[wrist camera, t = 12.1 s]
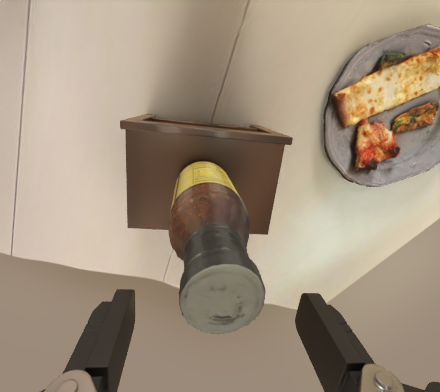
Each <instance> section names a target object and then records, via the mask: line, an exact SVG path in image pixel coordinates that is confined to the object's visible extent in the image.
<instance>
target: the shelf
mask: <svg viewBox="0 0 440 392" xmlns="http://www.w3.org/2000/svg"><path fill="white" fill-rule="evenodd" d="M120 128H121V129H126V172H127V217H128V228H141V229H162V230H169V225H170V212H171V206H172V201H173V195H174V190H175V185H176V181H177V179H178V177H179V174H180V173H181V172H182V171H183V170H184V169H185V168H186V167H187V166H188V165H190V164H192V163H193V162H196V161H206V162H211V163H214V164H216V165H218V166H219V167H221V168H222V169H223V170H224V171H225V172H226V174H227V175H228V177H229V179H230V181H231V182H232V184H233V186H234V188H235V189H236V191H237V193H238V194H239V196H240V198H241V199H242V201H243V202H244V204H245V206H246V208H247V211H248V214H249V217H250V234H268V230H269V224H270V219H271V214H272V209H273V204H274V198H275V193H276V188H277V183H278V177H279V172H280V167H281V162H282V157H283V151H284V146H285V144H286V145H291V144H292V139H293V138H292V137H289V136H286V135H284V134H281V133H278V132H275V131H273V130H270V129H267V128H264V127H261V126H258V125H251V126H250V128H246V127H237V126H227V125H217V124H207V123H198V122H188V121H178V120H168V119H158V118H157V115H152V114H145V115H141V116H137V117H133V118H129V119H126V120H122V121H120Z"/></svg>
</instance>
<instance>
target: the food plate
mask: <svg viewBox="0 0 440 392" xmlns="http://www.w3.org/2000/svg"><path fill="white" fill-rule="evenodd" d="M368 45H369V44H368ZM368 45H367V46H365V47H364V48H363V49H361V50H359V51H358V52H357V53H356V54H355V55H354V56H353V57H352V58H351V59H350V60H349V62H348V63H347V64H346V66H345V67H344V69H343V71H342V72H341V74H340V76H339V77H338V79H337V81H336V83H335V84H334V85H333V87H332V89H331V90H330V92H329V97H328V102H327V105H326V107H325V111H324V125H323V126H324V129H323V130H324V144H325V150H326V153H327V157H328V159H329V160H330V162H331V163H332V165H333V166H334V167H335V168H336V169H337V170H338V171H339V172H340V173H341V175H342V176H343V178H345V179H346V180H348V181H350V182H355V183H357V184H360V185H366V186H369V187H380V186H383V185H387V184H390V183H393V182H396V181H399V180H403V179H406V178H407V177H411V176H415V175H418V174H420V173H421V172H424V171H425V172H426V171H429V170H430V169H431V168H433V167H434V166H435V165H437V164H438V163H439V162H440V27H437V26H433V25H425V26H423V25H422V27H420V26H419V27H416V28H413V29H411V30H409V31H405V32H402V33H399V34H396V35H394V36H391V37H388V38H385V39H382V40H380V41H377V42H374V43H371V45H370V46H368Z"/></svg>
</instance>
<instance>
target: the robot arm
mask: <svg viewBox="0 0 440 392" xmlns="http://www.w3.org/2000/svg"><path fill="white" fill-rule="evenodd" d="M134 323H135V291H134V290H123V289H117V290H116V292H115V295H114V297H113V300H112V302H102V303H101V304H100V305H99V306H98V307H97V308H96V309H95V310H94V311H93V312H92V314H91V316H90V318H89V321H88V324H87V325H86V327H85V329H84V332H83V333H82V335H81V337H80V339H79V341H78V343H77V345H76V348H75V350H74V352H73V354H72V356H71V358H70V360H69V362H68V364H67V366H66V368H65V370H64V372H63V373H62V375H60V376H58V377H57V378H56V379H54V380H53V381H52V382H51V383H50V384H49V385H48V387H47V388H46V389H45V390H43V391H41V392H117V389H118V386H119V382H120V378H121V374H122V371H123V367H124V363H125V359H126V356H127V352H128V348H129V344H130V341H131V337H132V333H133V329H134ZM295 323H296V328H297V331H298V334H299V336H300V338H301V340H302V343H303V345H304V347H305V349H306V351H307V354H308V356H309V358H310V360H311V362H312V365H313V367H314V369H315V371H316V374H317V376H318V378H319V380H320V383H321V385H322V387H323V389H324V391H325V392H440V383H439V382H431V383H429V384H428V385H427V387H426V389H425V390H422V389H418V388H415V387H412V386H409V385H405V384H402V383H401V382H400V381H399V380H398V379H397V377H396V376H394V374H392V373H391V372H390V371H388V370H387V369H386V368H384V367H382V366H379V365H377V364H375V363H374V361H373V360H372V358H371V357H370V356H369V354H368V353H367V351H366V350H365V348H364V347H363V345H362V344H361V343H360V341H359V340H358V338H357V337H356V335H355V334H354V333H353V332H352V330H351V328H350V327H349V326H348V325H347V322H346V321H345V319H344V318H343V317H342V315H341V314H340V313H339V312H338V311H337V310H336V309H334V308H333V307H332V306H331V305H327V304H326V302H325V301H324V299H323V298H322V296H321V295H320V294H318V293H303V294H302V295H301V299H300V302H299V306H298V310H297V314H296V318H295Z"/></svg>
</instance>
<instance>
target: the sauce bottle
mask: <svg viewBox="0 0 440 392" xmlns="http://www.w3.org/2000/svg"><path fill="white" fill-rule="evenodd" d="M249 234H250V217H249V214H248V211H247V208H246V206H245V204H244V202H243V201H242V199H241V198H240V196H239V194H238V193H237V191H236V189H235V188H234V186H233V184H232V182H231V181H230V179H229V177H228V175H227V174H226V172H225V171H224V170H223V169H222V168H221V167H219V166H218V165H216V164H214V163H211V162H206V161H196V162H193V163H192V164H190V165H188V166H187V167H186V168H185V169H184V170H183V171H182V172H181V173H180V174H179V177H178V179H177V181H176V185H175V190H174V195H173V201H172V206H171V212H170V225H169V237H170V242H171V245H172V248H173V249H174V250H175V251H176V253H177V256H178V257H179V258H181V259H182V260H183V261H184V273H183V275H182V278H181V281H180V291H179V305H180V309H181V311H182V315H183V316H184V317H185V319H186V320H187V322H188V323H189V324H190V325H192V326H193V327H194V328H196V329H198V330H200V331H202V332H206V333H211V334H224V333H229V332H232V331H235V330H238V329H240V328H242V327H244V326H246V325H248V324H249V323H250V322H251V321H253V320H255V318H256V317H257V316H258V315H259V313H260V312H261V310H262V308H263V305H264V299H265V287H264V284H263V282H262V279H261V275H260V274H259V271H258V268H257V266H256V265H255V264H254V263H253V262H252V260H250V259H249V256H248V254H247V249H246V246H247V242H248V238H249Z"/></svg>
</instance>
